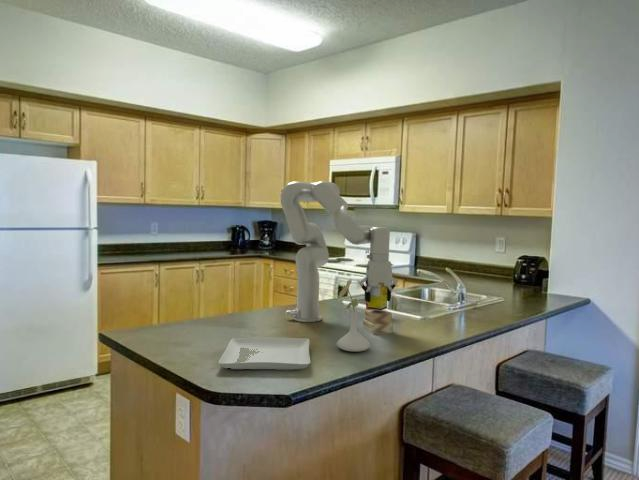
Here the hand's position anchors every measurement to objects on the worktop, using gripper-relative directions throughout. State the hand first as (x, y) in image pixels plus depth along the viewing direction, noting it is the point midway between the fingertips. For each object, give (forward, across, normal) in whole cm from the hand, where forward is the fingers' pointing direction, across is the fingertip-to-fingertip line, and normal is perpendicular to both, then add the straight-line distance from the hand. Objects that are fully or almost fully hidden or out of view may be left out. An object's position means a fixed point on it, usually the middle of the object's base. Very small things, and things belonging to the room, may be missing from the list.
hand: (377, 300), depth 190 cm
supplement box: (+3, 0, 0) cm, 3 cm away
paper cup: (+12, +9, +24) cm, 28 cm away
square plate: (+13, -50, -24) cm, 57 cm away
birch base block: (+12, 0, 0) cm, 12 cm away
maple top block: (+8, 0, 0) cm, 8 cm away
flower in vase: (+12, -20, -22) cm, 32 cm away
